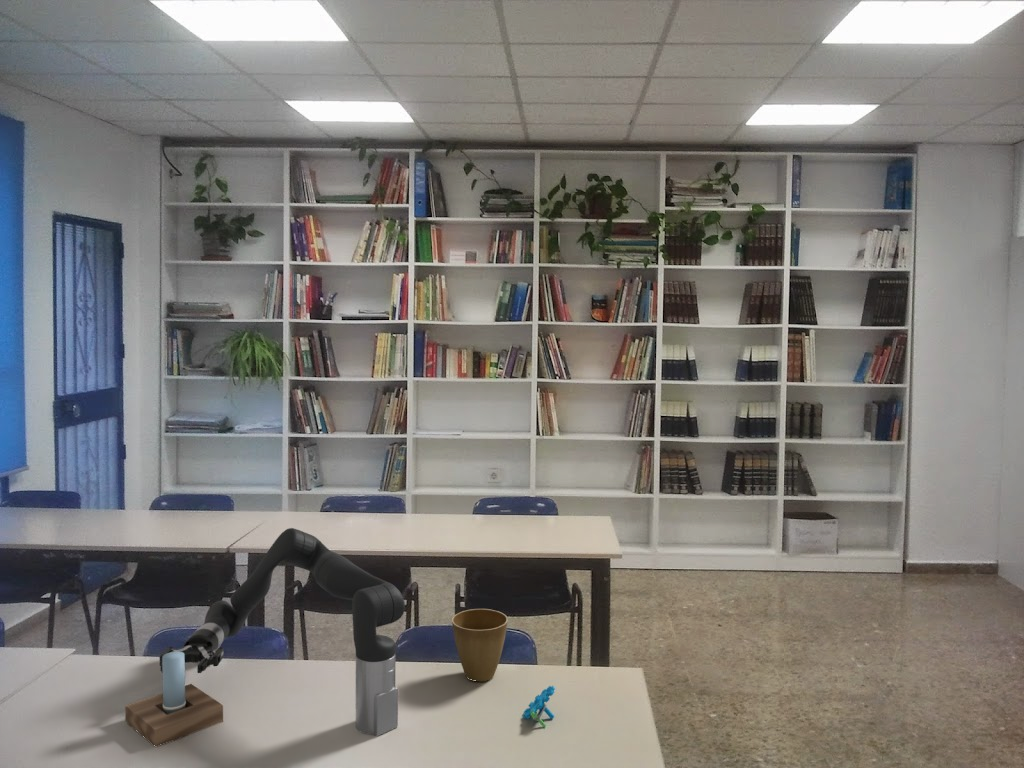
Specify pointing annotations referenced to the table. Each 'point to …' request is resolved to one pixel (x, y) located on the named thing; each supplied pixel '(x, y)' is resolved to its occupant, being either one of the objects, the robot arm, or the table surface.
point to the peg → (173, 682)
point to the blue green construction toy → (540, 706)
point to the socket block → (173, 716)
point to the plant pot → (479, 641)
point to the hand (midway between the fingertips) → (181, 669)
